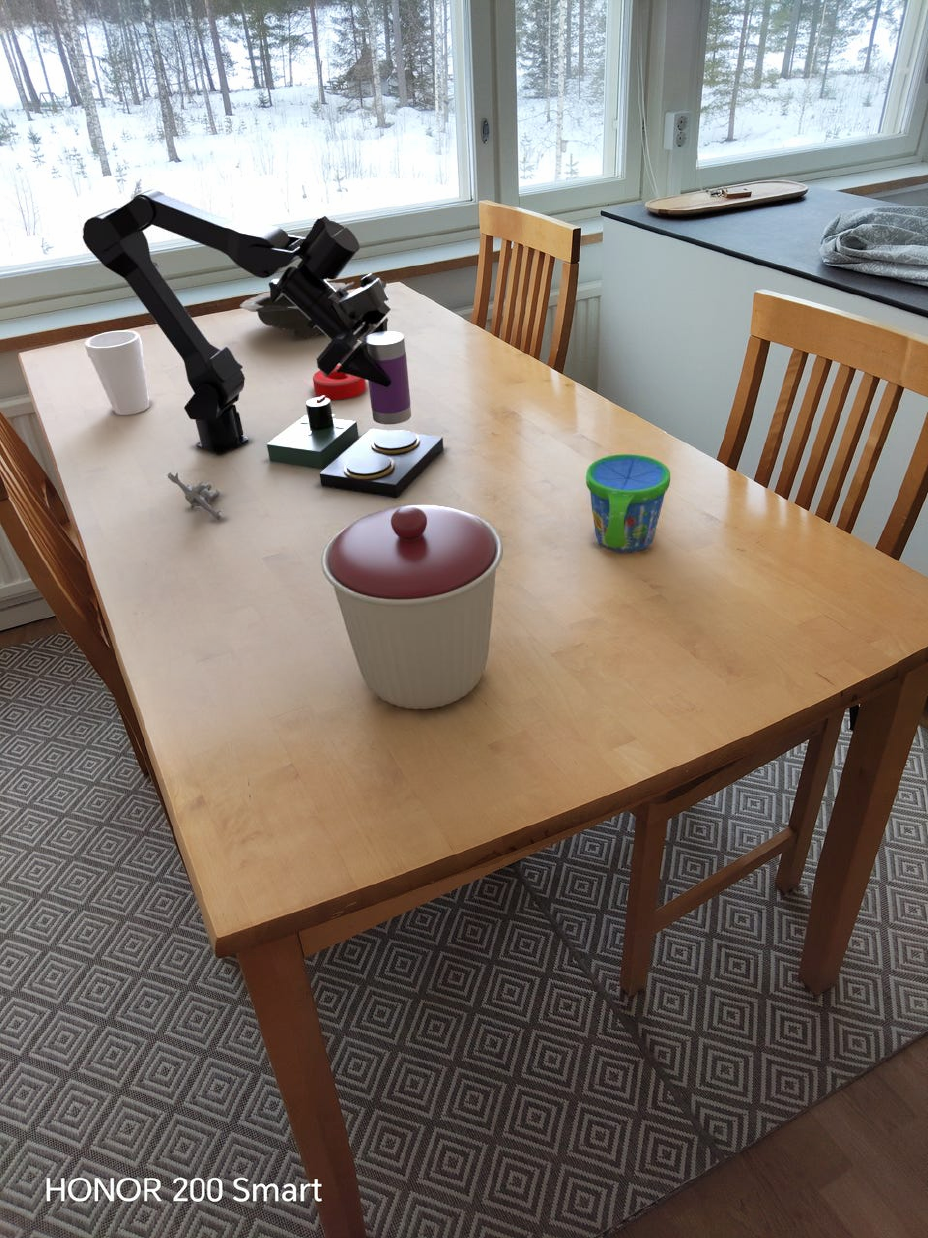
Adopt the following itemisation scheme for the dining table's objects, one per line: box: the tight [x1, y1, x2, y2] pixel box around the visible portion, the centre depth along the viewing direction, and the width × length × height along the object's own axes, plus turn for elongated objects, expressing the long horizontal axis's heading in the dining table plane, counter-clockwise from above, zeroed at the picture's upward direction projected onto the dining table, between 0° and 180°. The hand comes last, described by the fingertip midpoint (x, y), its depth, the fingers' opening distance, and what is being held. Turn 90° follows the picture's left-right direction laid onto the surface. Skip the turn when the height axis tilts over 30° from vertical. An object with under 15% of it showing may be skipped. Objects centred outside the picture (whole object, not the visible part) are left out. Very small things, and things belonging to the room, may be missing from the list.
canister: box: [320, 504, 504, 710], centre depth 94 cm, size 18×18×21 cm
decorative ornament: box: [312, 364, 367, 401], centre depth 169 cm, size 10×10×3 cm
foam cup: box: [83, 329, 150, 416], centre depth 165 cm, size 10×9×13 cm
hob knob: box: [305, 396, 334, 430], centre depth 149 cm, size 4×4×4 cm
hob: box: [318, 428, 445, 499], centre depth 142 cm, size 13×17×3 cm
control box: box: [266, 413, 360, 470], centre depth 149 cm, size 10×13×3 cm
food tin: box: [364, 330, 412, 425], centre depth 139 cm, size 6×6×12 cm
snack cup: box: [585, 453, 671, 554], centre depth 118 cm, size 16×10×10 cm
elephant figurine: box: [166, 472, 224, 522], centre depth 133 cm, size 10×6×9 cm
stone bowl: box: [239, 281, 355, 340], centre depth 200 cm, size 25×25×9 cm
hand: (396, 376), depth 138 cm, fingers closed on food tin, 6 cm apart
